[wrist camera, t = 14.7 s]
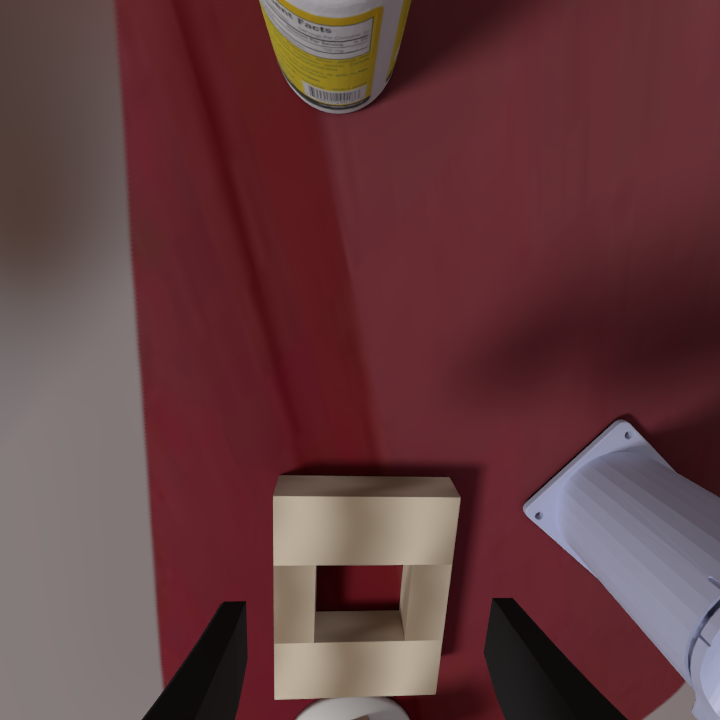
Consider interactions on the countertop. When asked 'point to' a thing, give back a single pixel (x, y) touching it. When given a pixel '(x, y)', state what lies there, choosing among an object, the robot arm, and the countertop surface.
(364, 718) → the plug peg
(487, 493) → the countertop surface
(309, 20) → the supplement bottle
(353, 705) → the coaster
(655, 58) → the countertop surface
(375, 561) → the holder block
